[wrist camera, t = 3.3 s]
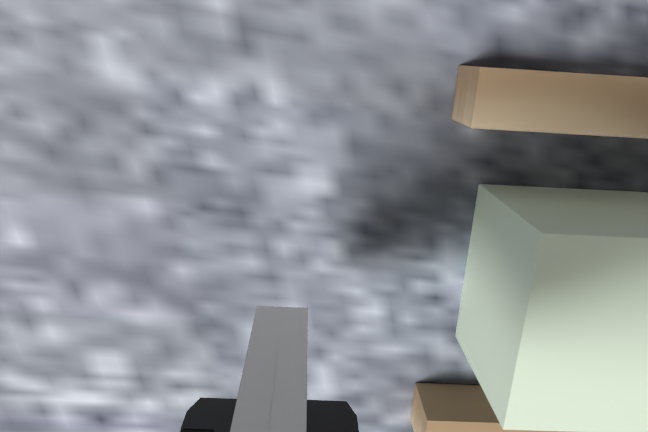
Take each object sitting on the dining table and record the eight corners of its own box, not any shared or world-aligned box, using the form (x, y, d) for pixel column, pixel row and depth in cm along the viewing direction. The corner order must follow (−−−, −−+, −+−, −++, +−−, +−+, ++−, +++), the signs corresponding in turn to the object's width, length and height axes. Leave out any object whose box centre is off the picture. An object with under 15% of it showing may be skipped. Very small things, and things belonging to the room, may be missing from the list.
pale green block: (477, 183, 21) (542, 233, 15) (645, 191, 21) (771, 243, 15) (454, 334, 23) (503, 429, 17) (606, 340, 23) (704, 435, 17)
